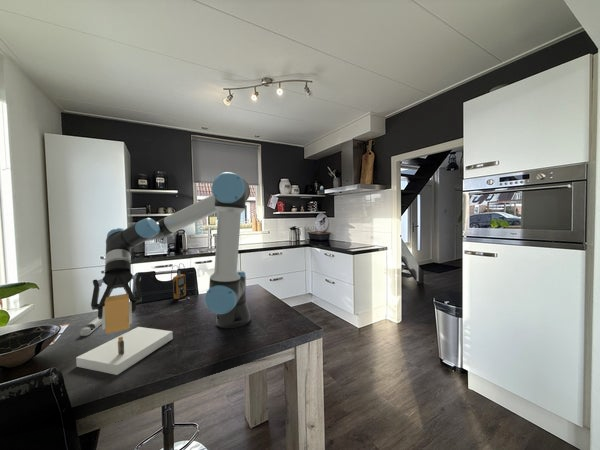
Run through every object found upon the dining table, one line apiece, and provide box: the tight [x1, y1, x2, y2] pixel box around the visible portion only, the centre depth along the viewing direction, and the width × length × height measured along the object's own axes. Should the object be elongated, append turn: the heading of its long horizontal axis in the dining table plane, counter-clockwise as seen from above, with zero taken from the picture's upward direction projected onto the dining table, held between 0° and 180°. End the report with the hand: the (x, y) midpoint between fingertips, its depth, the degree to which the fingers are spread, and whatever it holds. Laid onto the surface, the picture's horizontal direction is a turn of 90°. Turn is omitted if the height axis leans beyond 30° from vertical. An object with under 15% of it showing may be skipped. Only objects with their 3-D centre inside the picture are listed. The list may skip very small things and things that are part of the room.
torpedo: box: [79, 316, 102, 337], centre depth 105 cm, size 18×5×6 cm, turn 17°
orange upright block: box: [105, 293, 131, 335], centre depth 78 cm, size 6×6×10 cm
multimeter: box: [170, 263, 192, 303], centre depth 142 cm, size 15×10×20 cm
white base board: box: [75, 326, 174, 376], centre depth 86 cm, size 17×22×9 cm
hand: (117, 324), depth 75 cm, fingers closed on orange upright block, 6 cm apart
